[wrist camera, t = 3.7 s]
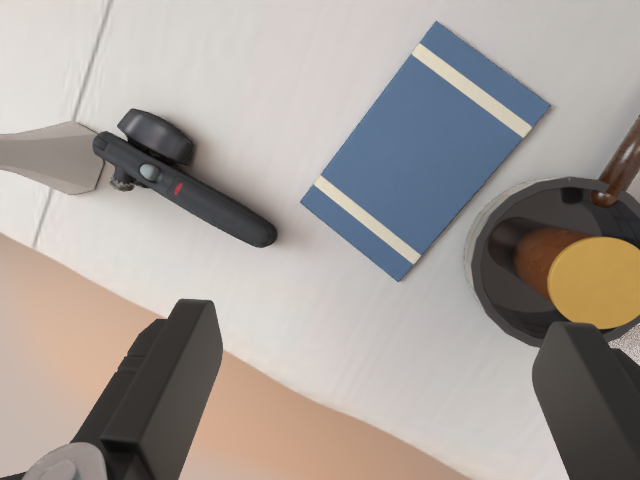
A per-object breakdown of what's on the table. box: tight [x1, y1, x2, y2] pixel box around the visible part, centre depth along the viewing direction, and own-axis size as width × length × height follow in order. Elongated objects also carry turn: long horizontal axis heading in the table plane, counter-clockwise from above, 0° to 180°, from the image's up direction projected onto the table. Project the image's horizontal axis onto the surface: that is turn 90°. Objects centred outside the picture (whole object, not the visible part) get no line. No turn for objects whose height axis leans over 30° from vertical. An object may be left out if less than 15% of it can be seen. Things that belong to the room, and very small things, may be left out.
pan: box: [464, 177, 640, 348], centre depth 30 cm, size 12×12×4 cm
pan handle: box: [590, 115, 640, 208], centre depth 27 cm, size 10×2×2 cm, turn 153°
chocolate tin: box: [512, 226, 640, 329], centre depth 27 cm, size 5×5×9 cm
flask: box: [0, 121, 104, 195], centre depth 35 cm, size 7×7×10 cm
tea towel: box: [300, 21, 551, 282], centre depth 33 cm, size 18×11×1 cm, turn 142°
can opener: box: [92, 109, 277, 248], centre depth 35 cm, size 18×7×6 cm, turn 57°
